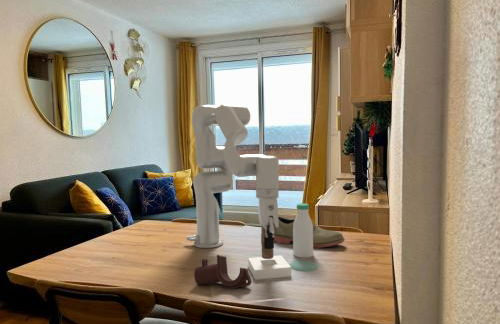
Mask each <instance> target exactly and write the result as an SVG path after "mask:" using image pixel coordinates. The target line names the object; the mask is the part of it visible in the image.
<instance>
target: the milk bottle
mask: <svg viewBox="0 0 500 324" xmlns="http://www.w3.org/2000/svg"><path fill="white" fill-rule="evenodd" d="M309 208H310V205H309V204H308V203H298V204H296V211H297V214H296V217H295V218H294V219H295V221H294V224H293V242H292V247H293V248H292V249H293V250H292V252H293V256H295V257H296V258H297V257H298V258H306V259H307V258H310V257H313V256H314V248H313V224H314V223H313V224H312V222H313V221H312V219H311V216H310V213H309V211H310V209H309Z"/></svg>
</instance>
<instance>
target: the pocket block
mask: <svg viewBox="0 0 500 324" xmlns="http://www.w3.org/2000/svg"><path fill="white" fill-rule="evenodd" d="M285 259H286V258H284V257H283V255H273V258H272V259H264V258H262V256H257V257H248V259H247V261H248V264H247V265H248V268H249V269H248V270H250V273H251V274H252V276H253V279H254V280H268V279H277V278H287V277H288V278H290V277H292V268H291V267H290V263H288V261H287V260H285Z"/></svg>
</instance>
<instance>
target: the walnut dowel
mask: <svg viewBox="0 0 500 324" xmlns="http://www.w3.org/2000/svg"><path fill="white" fill-rule="evenodd" d="M267 228H269V226H267ZM268 231H269V230H267V232H268ZM261 233H262V244H261V257H262V258H264V259H272V258H273V256H274V248H273V249H265V248H264V237H265V228H264V227H263V226H262V232H261Z"/></svg>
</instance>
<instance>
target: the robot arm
mask: <svg viewBox="0 0 500 324" xmlns="http://www.w3.org/2000/svg"><path fill="white" fill-rule="evenodd" d="M250 121H251V112H250V110H249V108H248V107H247V106H246V105H244V104H233V103H232V104H231V103H230V104H229V103H223V104H220V105H215V104H202V105H198V106H195V108H194V109H193V111H192V115H191V124H192V127H193V131H194V136H195V138H194V139H195V161H196V165H197V167H198V168H199V169H218V170H215V171H214V170H213V171H211V170H210V171H201V172H198V173H197V174H196V175H194V177H193V181H192V183H193V185H192V186H193V189H194V194H195V195H194V196H195V206H196V208H195V209H196V233H195V234H194V235H186V241H189V242H193V245H194V247H196V248H200V249H212V248H218V247H221V245H223V243H224V240H223V239H222V238H220V220H219V219H220V217H219V216H220V215H219V214H220V212H219V202H218V199H217V198H216V197H215V195H214V194H217V193H225V192H226V193H227V192H229V191H231V189H232V188H233V183H234V176H235V177H238V178H244V177H255V194H256V195H255V197H256V199H258V222H259V224H260V225H261V227H260V229H261V230H260V235H261V236H260V237H261V238H260V239H261V240H260V243H261V245H262V226H263V227H264V228H265V237H264V248H265V249H273V250H274V248H275V241H274V226H275V227H276V228H278V227H279V222H278V216H279V207H278V198H279V196H280V195H279V193H280V192H279V187H280V186H279V184H280V183H279V182H280V181H279V179H280V178H279V177H280V176H279V172H280V170H279V168H280V167H279V164H280V163H279V158H278V157H277V156H274V155H266V154H261V153H259V154H258V153H256V154H251V153H250V154H240V153H239V152H238V150H237V149H236V147H237V146H238V145H240V144H242V143H243V142H245V140H246V139H247V137H248V129H247V127H246V126H247V125H249V123H250ZM211 126H212V127H213V126H214V127H216V126H217V127H219V128H220V131H221V132H222V135H223V136H224V138H225V142H224V145H216V134H215V133H214V131H213V129H212V128H211ZM267 226H269V228H267ZM267 230H269V231H268V232H267Z"/></svg>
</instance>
